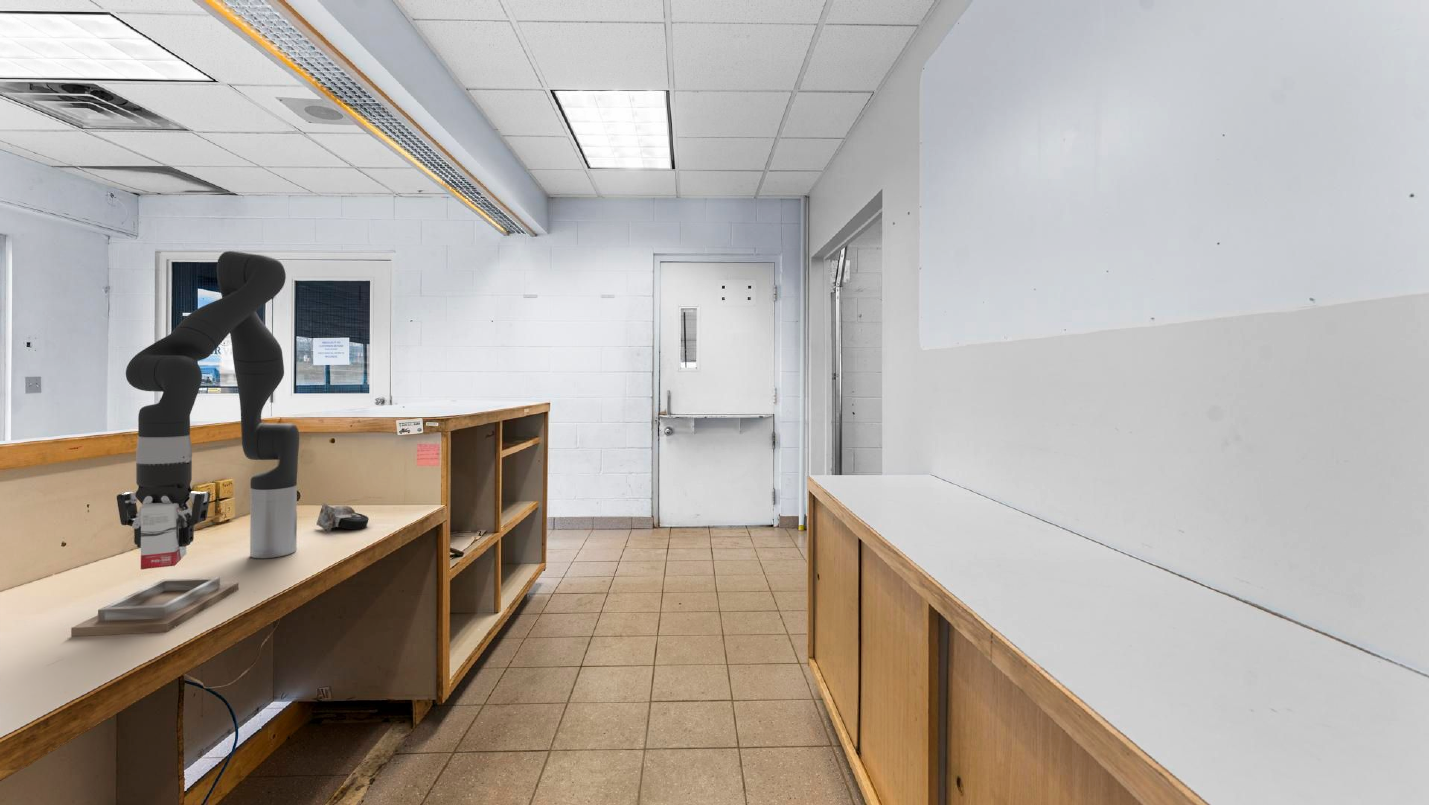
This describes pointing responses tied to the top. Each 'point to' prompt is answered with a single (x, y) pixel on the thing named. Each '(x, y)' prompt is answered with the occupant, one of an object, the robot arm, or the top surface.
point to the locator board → (156, 607)
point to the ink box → (160, 535)
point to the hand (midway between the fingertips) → (164, 545)
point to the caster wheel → (340, 518)
